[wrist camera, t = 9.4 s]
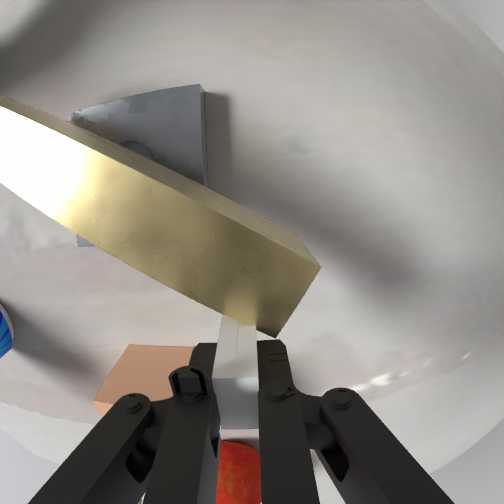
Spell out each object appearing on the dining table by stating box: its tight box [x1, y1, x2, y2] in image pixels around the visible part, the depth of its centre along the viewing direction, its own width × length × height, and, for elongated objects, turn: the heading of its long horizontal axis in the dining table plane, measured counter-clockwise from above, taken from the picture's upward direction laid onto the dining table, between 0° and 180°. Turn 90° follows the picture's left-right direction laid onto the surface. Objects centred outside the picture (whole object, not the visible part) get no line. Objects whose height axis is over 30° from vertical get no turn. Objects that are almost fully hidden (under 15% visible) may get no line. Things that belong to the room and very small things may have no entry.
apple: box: [216, 441, 262, 504], centre depth 26 cm, size 10×10×10 cm
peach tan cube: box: [93, 345, 195, 418], centre depth 23 cm, size 8×8×9 cm
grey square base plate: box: [69, 84, 208, 247], centre depth 21 cm, size 12×12×2 cm
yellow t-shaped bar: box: [0, 96, 321, 338], centre depth 14 cm, size 26×4×10 cm, turn 62°
